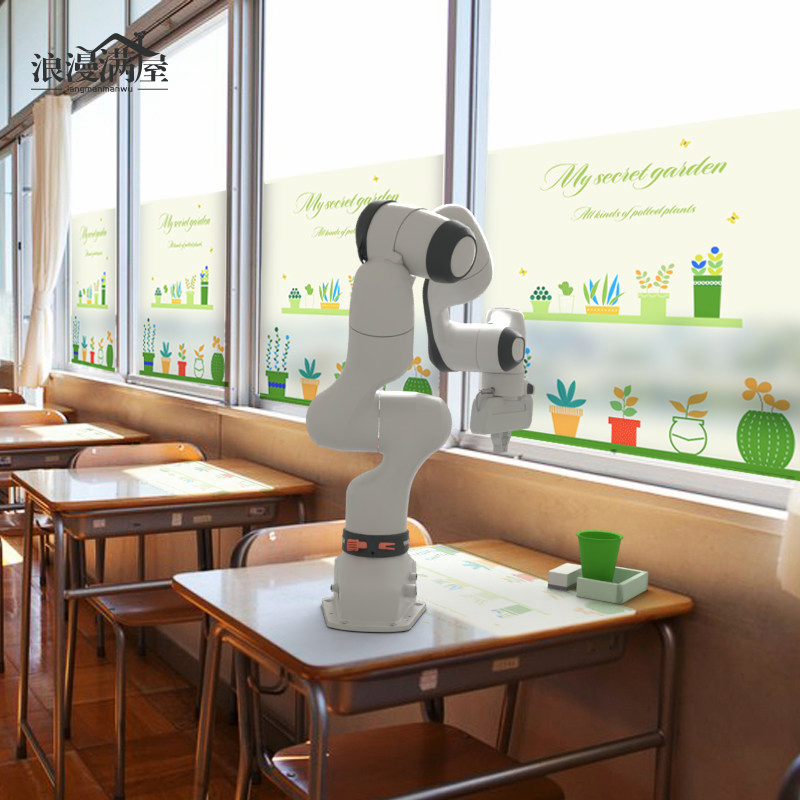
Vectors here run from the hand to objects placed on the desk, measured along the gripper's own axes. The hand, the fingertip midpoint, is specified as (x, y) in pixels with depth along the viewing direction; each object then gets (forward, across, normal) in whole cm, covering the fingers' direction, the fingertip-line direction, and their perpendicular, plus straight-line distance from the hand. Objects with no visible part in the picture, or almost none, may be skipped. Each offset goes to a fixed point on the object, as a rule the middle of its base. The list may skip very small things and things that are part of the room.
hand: (500, 453), depth 217 cm
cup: (+25, -1, -24) cm, 34 cm away
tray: (+25, -1, -27) cm, 36 cm away
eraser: (+25, -1, -17) cm, 30 cm away
